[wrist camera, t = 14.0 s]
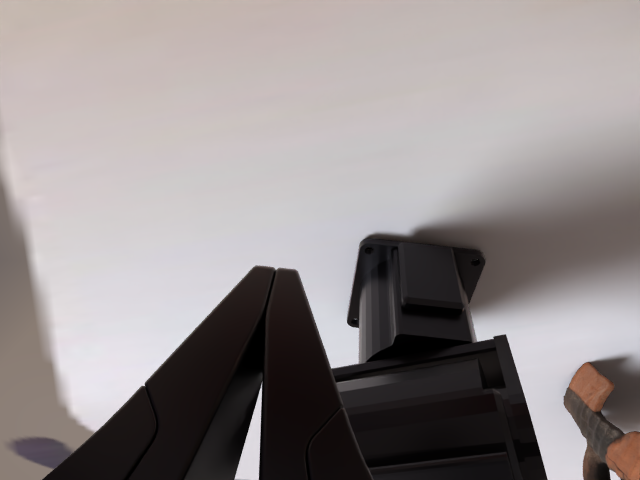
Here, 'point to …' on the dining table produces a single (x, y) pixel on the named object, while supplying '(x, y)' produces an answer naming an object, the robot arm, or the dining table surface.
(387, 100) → the dining table surface
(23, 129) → the dining table surface
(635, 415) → the dining table surface
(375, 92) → the dining table surface
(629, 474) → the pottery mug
